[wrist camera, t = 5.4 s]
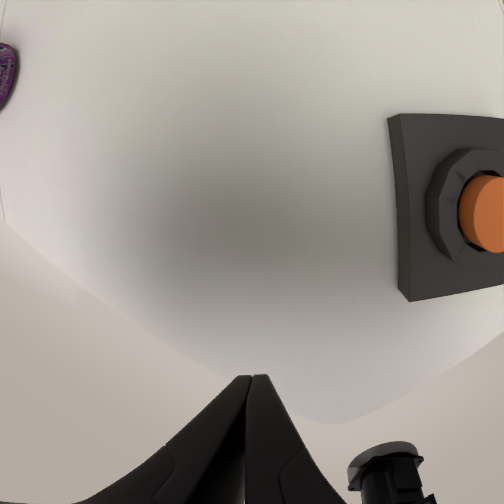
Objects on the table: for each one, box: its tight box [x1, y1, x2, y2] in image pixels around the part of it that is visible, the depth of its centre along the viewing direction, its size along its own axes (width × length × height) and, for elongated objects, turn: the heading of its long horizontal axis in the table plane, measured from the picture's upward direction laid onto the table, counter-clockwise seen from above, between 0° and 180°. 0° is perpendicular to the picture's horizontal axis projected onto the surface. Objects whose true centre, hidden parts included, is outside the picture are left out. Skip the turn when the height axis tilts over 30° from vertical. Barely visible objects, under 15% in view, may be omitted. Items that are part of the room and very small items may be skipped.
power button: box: [458, 175, 504, 253], centre depth 13 cm, size 4×4×2 cm
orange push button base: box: [388, 114, 504, 302], centre depth 16 cm, size 11×9×4 cm
